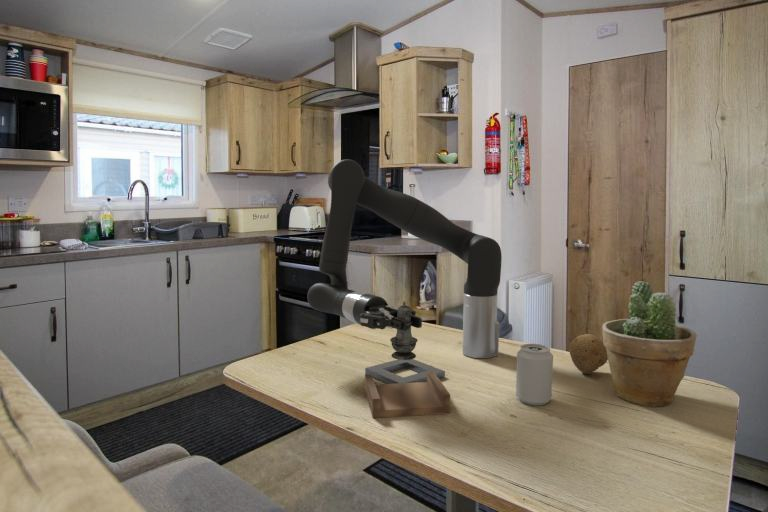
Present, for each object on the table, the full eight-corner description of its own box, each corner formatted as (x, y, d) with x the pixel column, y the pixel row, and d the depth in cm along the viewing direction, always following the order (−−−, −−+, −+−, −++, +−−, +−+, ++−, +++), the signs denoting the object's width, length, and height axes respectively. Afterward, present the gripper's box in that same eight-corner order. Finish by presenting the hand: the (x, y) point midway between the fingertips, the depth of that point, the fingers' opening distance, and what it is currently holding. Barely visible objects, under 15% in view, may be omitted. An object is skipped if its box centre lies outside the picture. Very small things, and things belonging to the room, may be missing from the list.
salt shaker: (408, 362, 106) (409, 305, 105) (384, 357, 109) (385, 302, 108) (422, 354, 111) (423, 300, 110) (398, 350, 114) (399, 297, 113)
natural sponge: (588, 365, 135) (589, 328, 134) (615, 376, 127) (617, 337, 126) (561, 369, 132) (562, 332, 130) (587, 381, 123) (589, 341, 122)
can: (551, 395, 115) (553, 343, 113) (550, 409, 108) (553, 353, 106) (517, 391, 117) (518, 340, 116) (514, 404, 110) (516, 350, 109)
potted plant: (712, 409, 107) (722, 292, 104) (636, 418, 103) (644, 296, 100) (648, 379, 125) (655, 278, 122) (581, 385, 121) (586, 281, 118)
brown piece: (433, 387, 119) (433, 371, 119) (449, 413, 106) (450, 394, 105) (364, 391, 117) (364, 374, 116) (372, 418, 103) (372, 398, 103)
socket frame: (407, 362, 137) (407, 356, 137) (444, 377, 126) (445, 371, 126) (365, 373, 128) (365, 367, 128) (401, 390, 118) (401, 384, 117)
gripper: (339, 297, 116) (386, 311, 102) (388, 290, 124) (438, 302, 111) (339, 329, 117) (386, 348, 103) (388, 320, 125) (437, 336, 112)
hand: (413, 324), depth 107 cm, fingers closed on salt shaker, 3 cm apart
